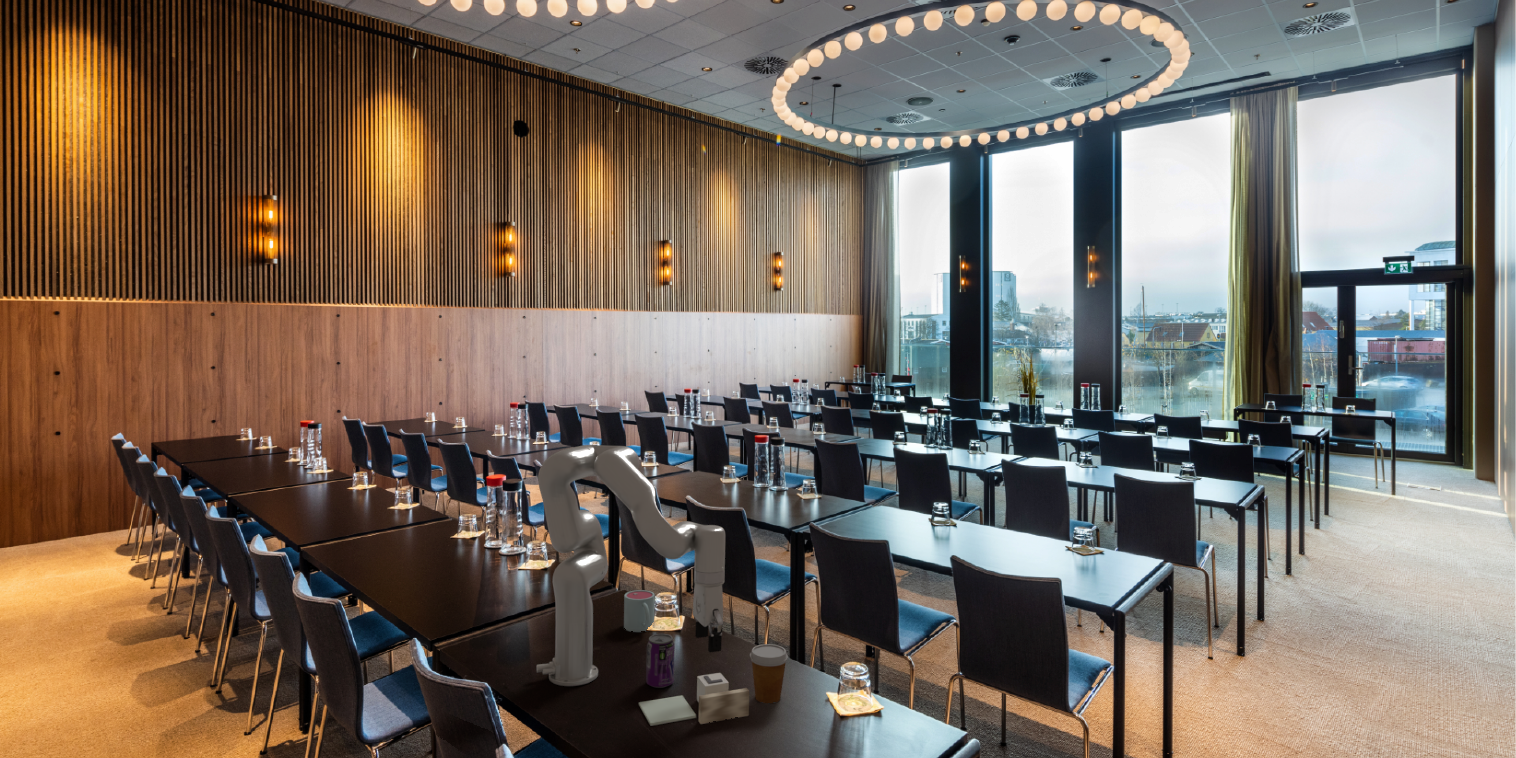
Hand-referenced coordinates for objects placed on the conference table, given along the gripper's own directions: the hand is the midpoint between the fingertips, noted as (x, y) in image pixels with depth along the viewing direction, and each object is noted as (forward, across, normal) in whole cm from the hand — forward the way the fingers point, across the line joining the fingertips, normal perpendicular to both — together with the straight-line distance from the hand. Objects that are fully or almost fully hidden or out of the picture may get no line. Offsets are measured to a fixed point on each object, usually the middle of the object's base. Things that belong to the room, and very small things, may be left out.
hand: (708, 643), depth 191 cm
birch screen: (+13, +12, 0) cm, 18 cm away
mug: (+14, -50, -4) cm, 52 cm away
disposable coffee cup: (+14, +6, +14) cm, 20 cm away
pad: (+13, +4, -12) cm, 18 cm away
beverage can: (+14, -11, -9) cm, 20 cm away
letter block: (+13, +4, 0) cm, 14 cm away
